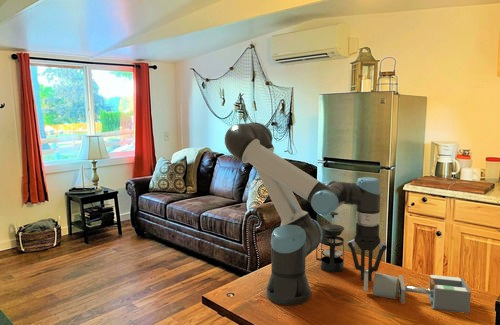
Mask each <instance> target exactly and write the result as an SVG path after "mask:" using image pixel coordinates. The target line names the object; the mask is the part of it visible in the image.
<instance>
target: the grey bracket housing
mask: <svg viewBox="0 0 500 325" xmlns="http://www.w3.org/2000/svg"><path fill="white" fill-rule="evenodd" d="M430 277H431V278H433V281H434V283H435V286H433V287H432V289H434V293H433V295H431V294H427V297H428V300H429V303H430V305H431V309H432V310H437V311H445V312H451V311H452V312H453V313H459V312H464V313H463V314H467V313H471V300H472V299H471V297H472V296H471V295H472V292H471V289H470V288H469V286H468V285H467V283H466V281H465V280H464V278H461V277H457V276H456V277H455V276H447V275H435V274H430V275H429V278H430Z"/></svg>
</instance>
